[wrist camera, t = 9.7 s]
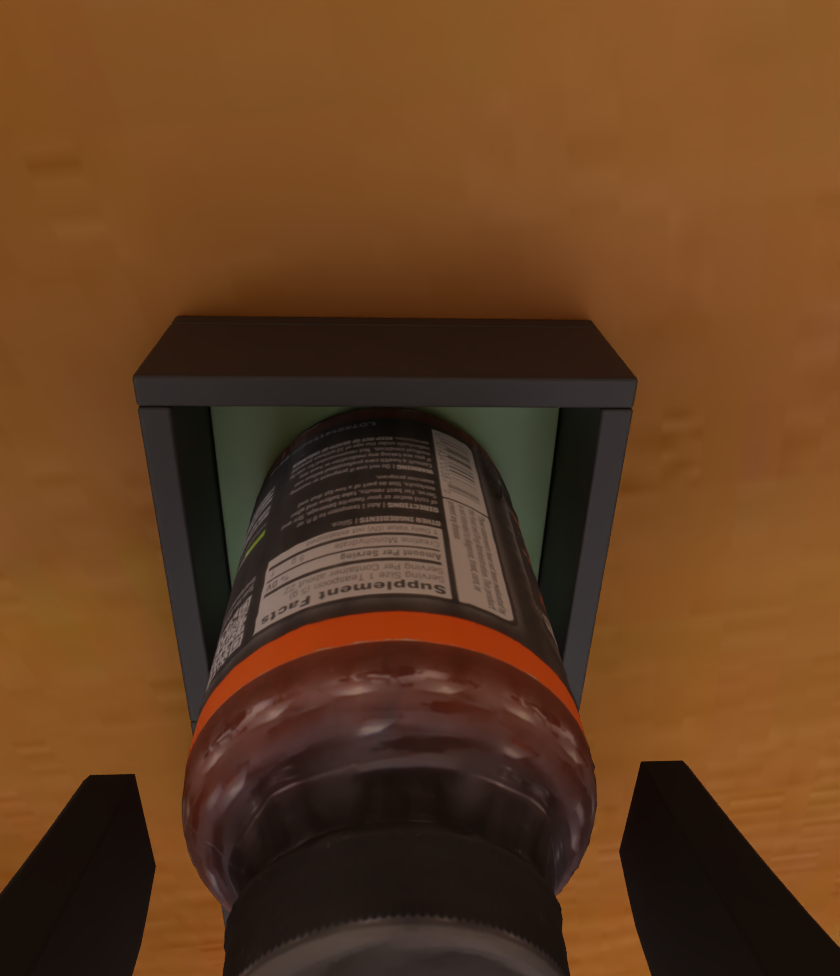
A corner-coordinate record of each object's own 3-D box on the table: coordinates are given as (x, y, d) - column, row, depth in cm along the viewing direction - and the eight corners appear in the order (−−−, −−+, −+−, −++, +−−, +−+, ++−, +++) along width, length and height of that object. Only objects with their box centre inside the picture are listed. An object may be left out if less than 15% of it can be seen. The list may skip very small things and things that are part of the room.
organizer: (519, 831, 26) (539, 936, 22) (245, 839, 25) (227, 947, 22) (592, 319, 17) (639, 379, 14) (176, 315, 16) (130, 375, 13)
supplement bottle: (496, 611, 20) (614, 1157, 10) (264, 609, 20) (152, 1176, 10) (523, 397, 17) (726, 875, 7) (250, 390, 17) (68, 886, 7)
